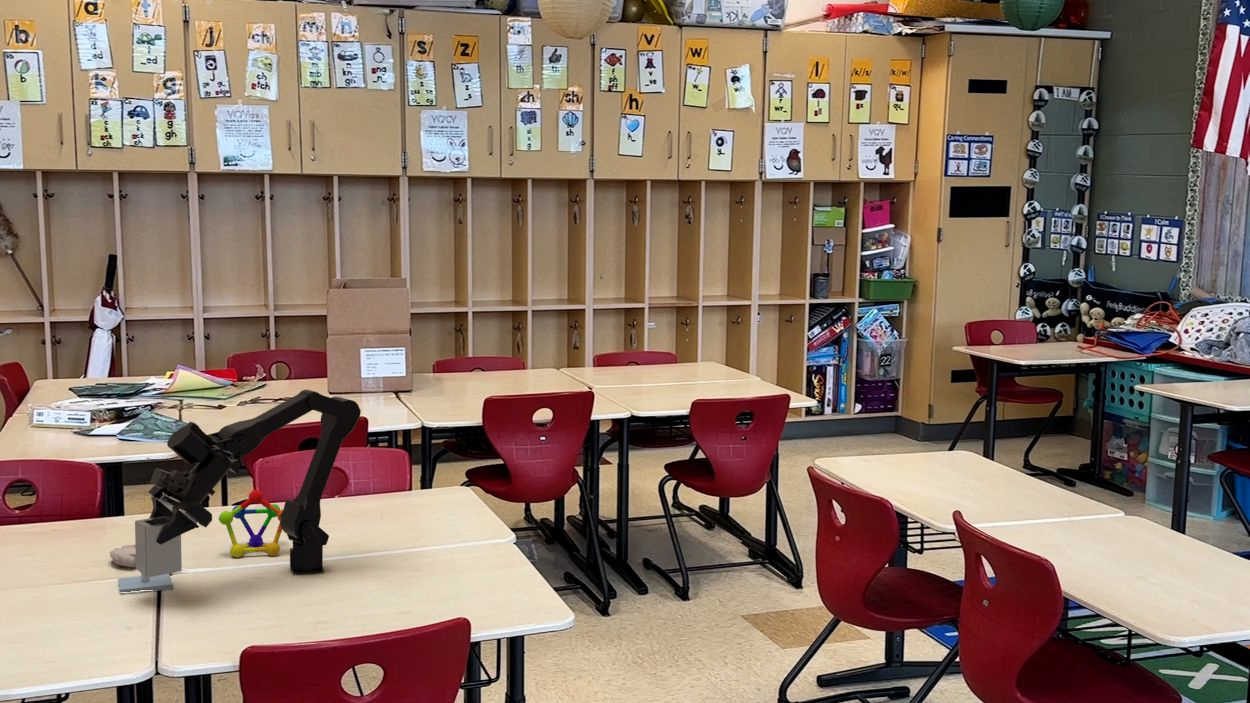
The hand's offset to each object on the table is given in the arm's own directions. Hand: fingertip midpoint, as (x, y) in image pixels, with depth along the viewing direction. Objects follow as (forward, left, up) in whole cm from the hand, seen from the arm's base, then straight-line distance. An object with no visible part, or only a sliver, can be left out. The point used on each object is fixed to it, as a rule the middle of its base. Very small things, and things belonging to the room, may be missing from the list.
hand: (151, 539), depth 233 cm
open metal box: (-1, -1, -7) cm, 7 cm away
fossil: (+5, -28, -13) cm, 31 cm away
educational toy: (-20, -31, -13) cm, 40 cm away
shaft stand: (+2, -10, -13) cm, 17 cm away
